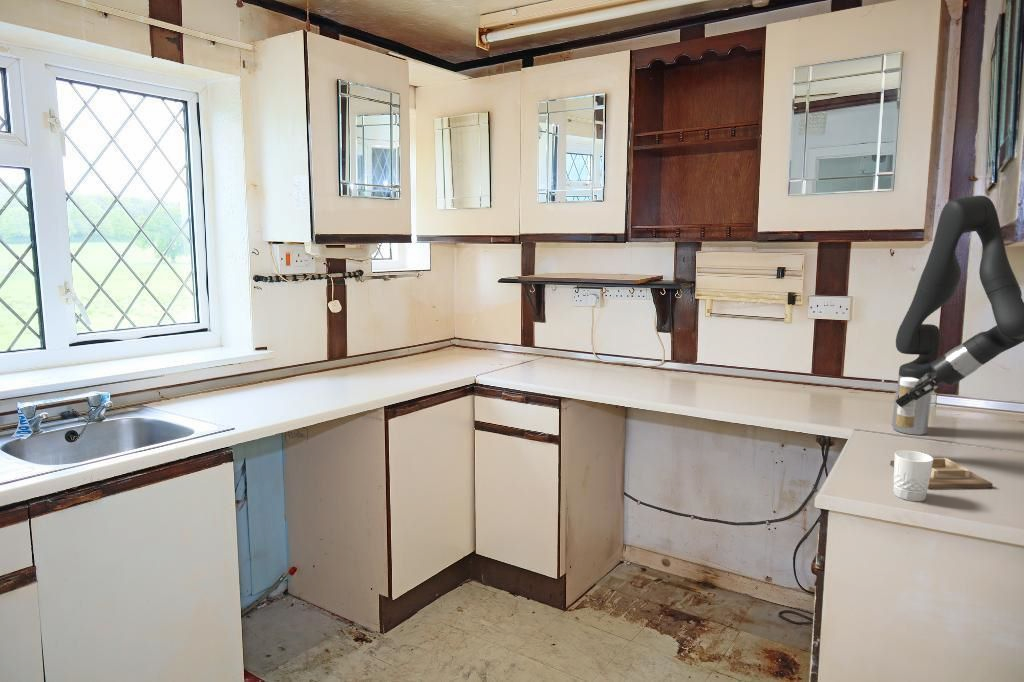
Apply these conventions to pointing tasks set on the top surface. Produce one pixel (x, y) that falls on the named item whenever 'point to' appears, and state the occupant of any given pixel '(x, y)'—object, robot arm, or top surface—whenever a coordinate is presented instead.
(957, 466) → the holder board
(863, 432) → the top surface
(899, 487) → the white cup
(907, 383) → the sprinkles bottle
